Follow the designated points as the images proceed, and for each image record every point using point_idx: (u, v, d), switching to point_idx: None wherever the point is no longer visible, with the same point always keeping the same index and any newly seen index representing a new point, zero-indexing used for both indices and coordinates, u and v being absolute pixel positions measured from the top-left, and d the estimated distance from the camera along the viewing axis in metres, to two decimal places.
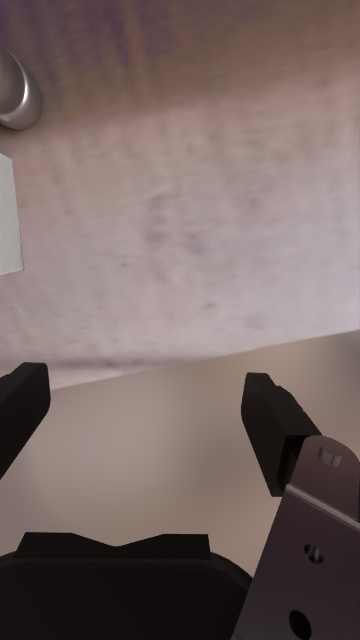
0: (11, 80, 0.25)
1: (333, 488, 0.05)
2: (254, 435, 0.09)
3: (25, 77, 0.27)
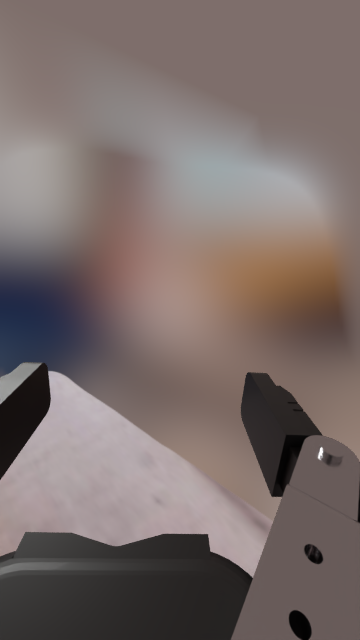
0: None
1: (332, 488, 0.05)
2: (254, 435, 0.09)
3: None
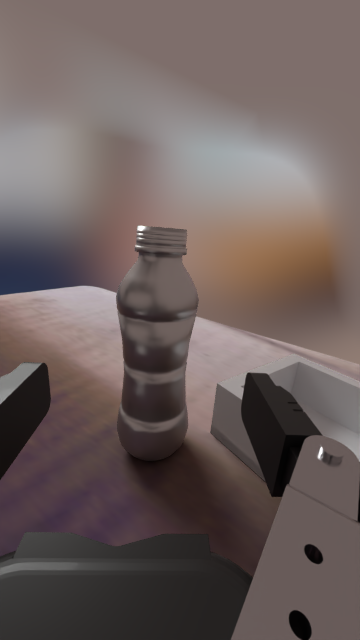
0: None
1: (333, 488, 0.05)
2: (254, 435, 0.09)
3: None
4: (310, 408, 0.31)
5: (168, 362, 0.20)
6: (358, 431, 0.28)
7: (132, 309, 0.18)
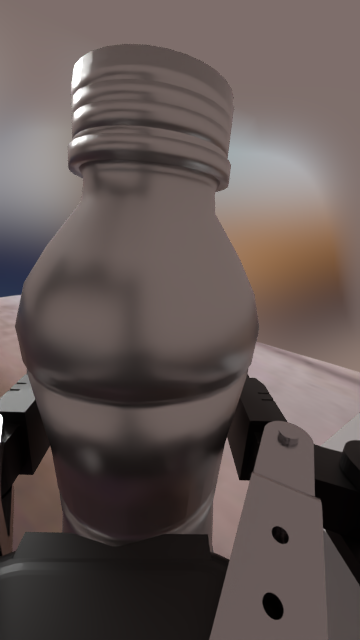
0: None
1: (292, 468, 0.06)
2: None
3: None
4: None
5: (175, 502, 0.07)
6: None
7: (50, 359, 0.05)
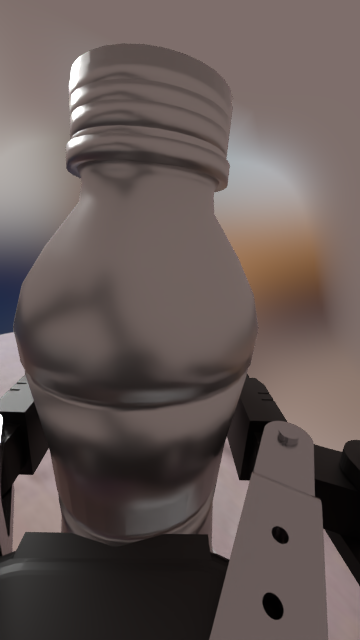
0: None
1: (292, 469, 0.06)
2: None
3: None
4: None
5: (173, 504, 0.07)
6: None
7: (48, 360, 0.05)
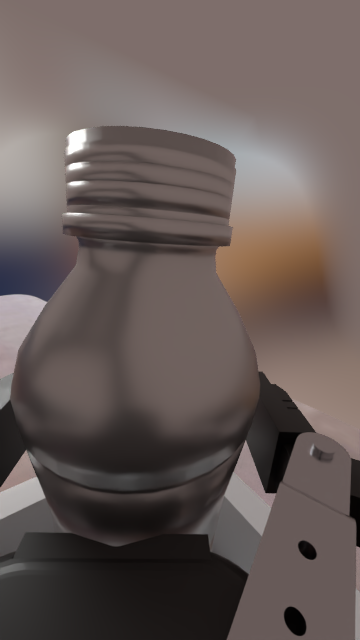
0: None
1: (325, 484, 0.05)
2: (249, 433, 0.09)
3: None
4: None
5: None
6: None
7: (46, 442, 0.05)
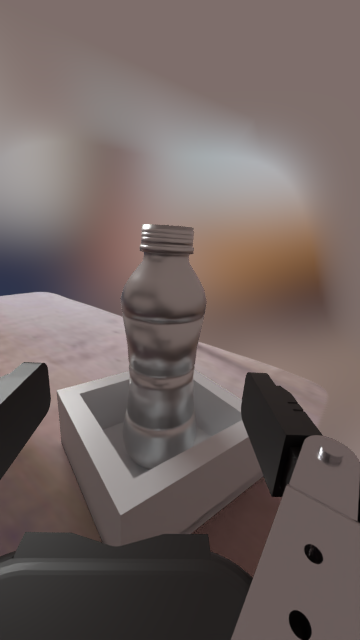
0: None
1: (332, 488, 0.05)
2: (254, 435, 0.09)
3: None
4: None
5: (176, 366, 0.19)
6: None
7: (138, 311, 0.18)
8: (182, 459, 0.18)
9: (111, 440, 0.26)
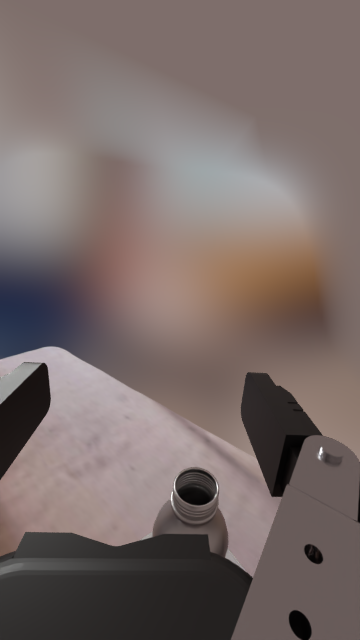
0: None
1: (333, 488, 0.05)
2: (254, 435, 0.09)
3: None
4: None
5: None
6: None
7: None
8: None
9: None
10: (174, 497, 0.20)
